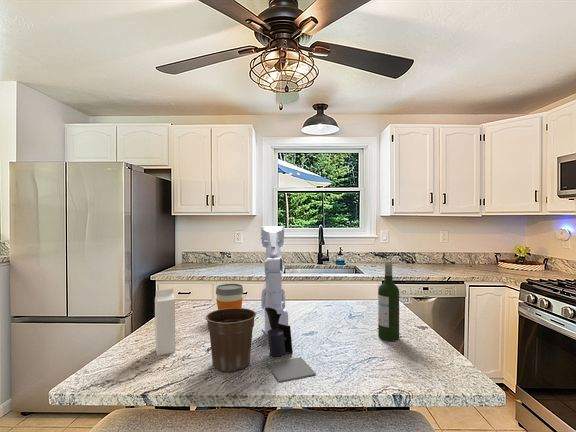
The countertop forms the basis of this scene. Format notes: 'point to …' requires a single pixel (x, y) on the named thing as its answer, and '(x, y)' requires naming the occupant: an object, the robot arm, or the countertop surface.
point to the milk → (164, 322)
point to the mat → (290, 369)
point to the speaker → (280, 341)
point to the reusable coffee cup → (229, 296)
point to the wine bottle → (388, 307)
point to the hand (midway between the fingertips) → (273, 328)
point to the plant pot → (230, 337)
